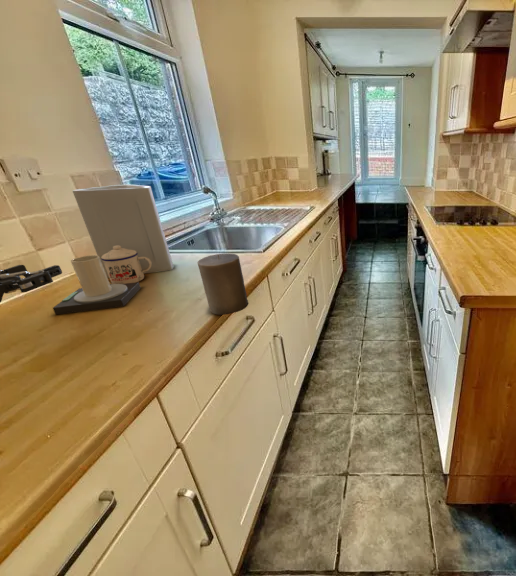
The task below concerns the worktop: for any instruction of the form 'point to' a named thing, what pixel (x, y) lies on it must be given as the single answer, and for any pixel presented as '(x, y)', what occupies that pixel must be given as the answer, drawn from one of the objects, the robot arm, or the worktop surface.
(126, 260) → the teacup with lid
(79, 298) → the scale
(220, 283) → the pillar candle
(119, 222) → the light grey box
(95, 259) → the cup
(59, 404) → the worktop surface
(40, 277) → the robot arm
